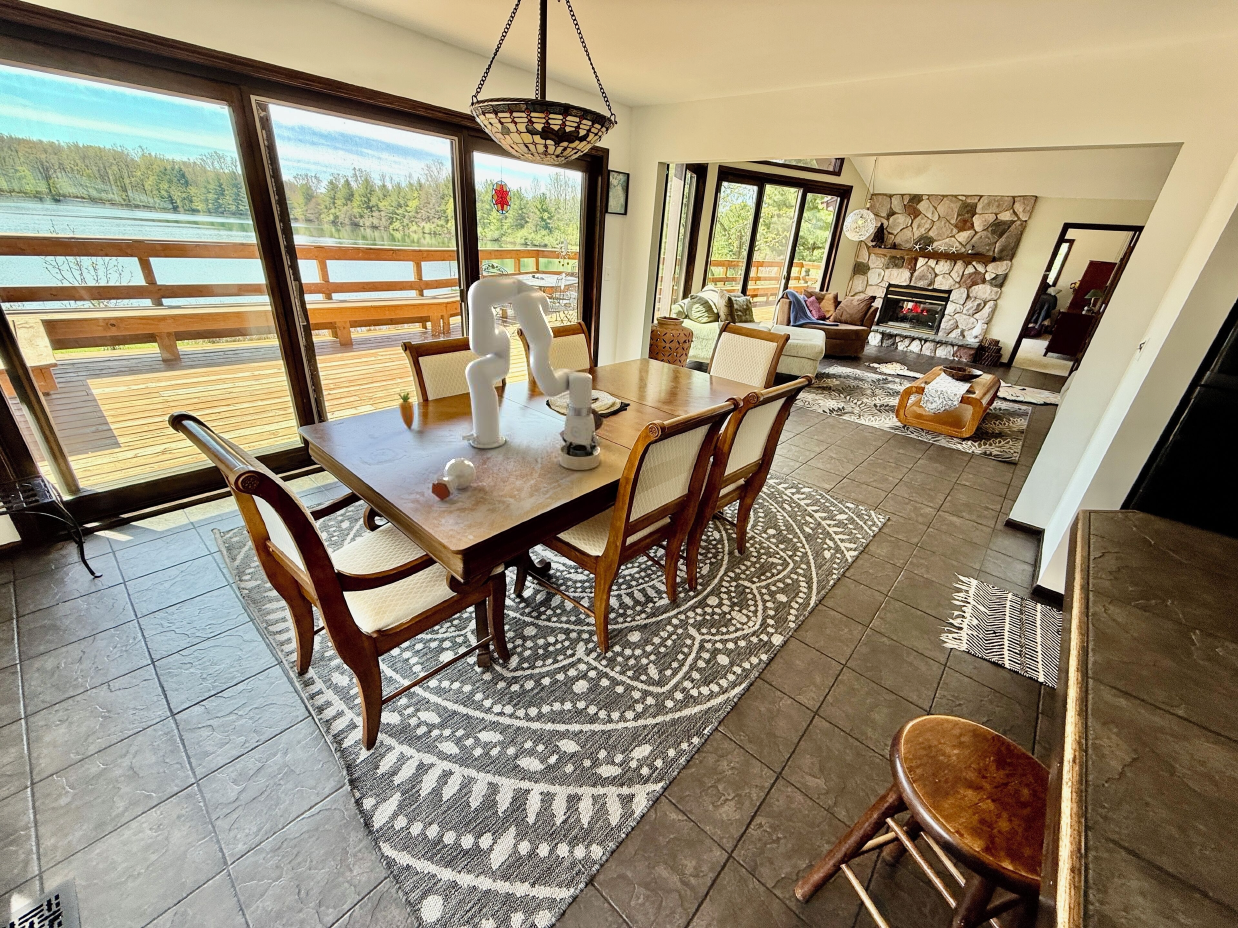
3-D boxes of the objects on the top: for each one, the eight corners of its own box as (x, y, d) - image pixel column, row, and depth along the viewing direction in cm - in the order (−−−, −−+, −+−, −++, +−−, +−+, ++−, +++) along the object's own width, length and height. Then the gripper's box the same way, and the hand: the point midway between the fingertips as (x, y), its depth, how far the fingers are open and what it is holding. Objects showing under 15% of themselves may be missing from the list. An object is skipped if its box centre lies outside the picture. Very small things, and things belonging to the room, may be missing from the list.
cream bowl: (569, 474, 160) (569, 460, 158) (552, 457, 171) (552, 445, 169) (606, 466, 167) (607, 453, 165) (588, 451, 178) (588, 439, 176)
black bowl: (575, 466, 165) (575, 453, 163) (566, 459, 170) (566, 446, 168) (592, 463, 168) (593, 450, 166) (584, 455, 173) (584, 443, 171)
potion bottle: (475, 483, 155) (447, 510, 142) (451, 464, 154) (421, 489, 141) (487, 466, 149) (459, 493, 137) (462, 446, 148) (432, 471, 136)
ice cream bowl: (599, 449, 180) (600, 411, 174) (570, 445, 182) (570, 408, 176) (605, 438, 190) (606, 402, 183) (578, 435, 192) (578, 399, 185)
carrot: (400, 429, 188) (394, 393, 182) (409, 425, 192) (403, 389, 186) (409, 432, 187) (404, 395, 180) (419, 428, 191) (414, 391, 184)
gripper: (552, 408, 161) (553, 456, 169) (597, 418, 154) (596, 467, 162) (564, 402, 167) (564, 449, 175) (608, 411, 161) (606, 459, 168)
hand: (579, 457), depth 168 cm, fingers closed on black bowl, 7 cm apart
